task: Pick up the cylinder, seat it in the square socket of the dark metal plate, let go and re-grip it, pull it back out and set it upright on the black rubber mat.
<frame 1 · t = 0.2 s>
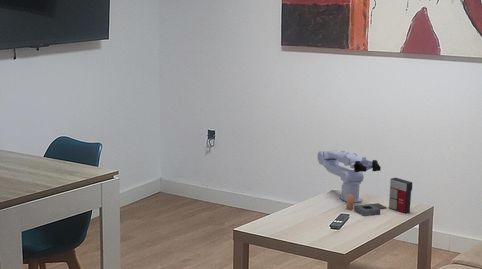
hand: (372, 169, 370), 21 cm above the table, tool horizontal, fingers open, 7 cm apart
red and grey box: (399, 210, 377), on the table
chuck plate: (367, 212, 372), on the table
mat: (376, 206, 381), on the table
cylinder: (349, 208, 378), on the table
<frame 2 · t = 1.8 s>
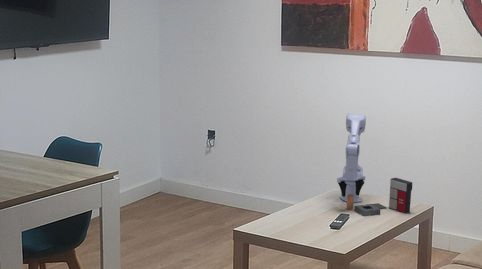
hand: (350, 195, 376), 7 cm above the table, tool pointing down, fingers open, 7 cm apart
nothing on the table moved.
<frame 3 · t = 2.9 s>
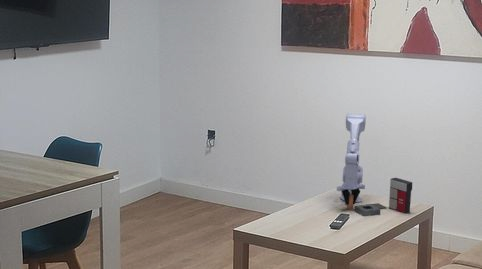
hand: (350, 204, 377), 2 cm above the table, tool pointing down, fingers closed on cylinder, 3 cm apart
cylinder: (349, 208, 378), on the table, touching gripper
everything else where it was.
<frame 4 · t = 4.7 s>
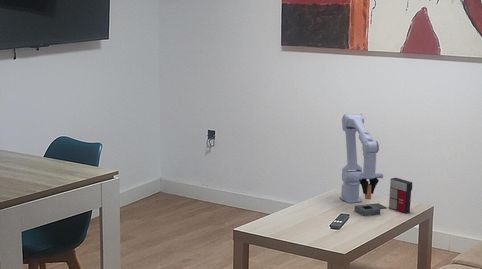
hand: (368, 193, 370), 9 cm above the table, tool pointing down, fingers closed on cylinder, 3 cm apart
cylinder: (367, 198, 371), point 7 cm above the table, touching gripper
everything else where it was.
when the fingers open (3 cm above the table, at t = 6.4 s): cylinder drops 1 cm, resting in chuck plate.
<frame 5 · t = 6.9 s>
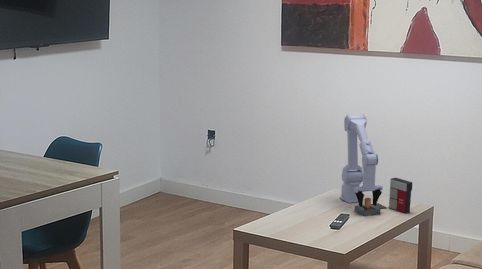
hand: (367, 205, 371), 3 cm above the table, tool pointing down, fingers open, 7 cm apart
cylinder: (367, 212, 372), resting in chuck plate
everything else where it was.
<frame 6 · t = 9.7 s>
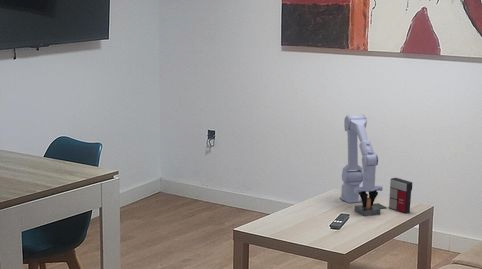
hand: (367, 206, 371), 3 cm above the table, tool pointing down, fingers closed on cylinder, 3 cm apart
cylinder: (367, 212, 372), resting in chuck plate, touching gripper
everything else where it was.
when the fingers open (5 cm above the table, at t = 13.1 s): cylinder stays where it is, resting on mat.
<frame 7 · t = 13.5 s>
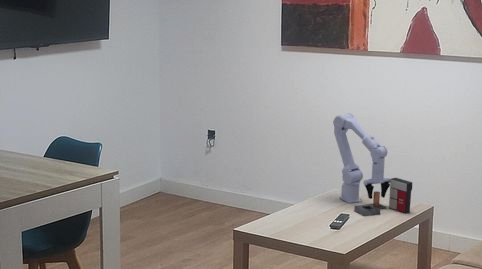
hand: (376, 197, 381), 5 cm above the table, tool pointing down, fingers open, 7 cm apart
cylinder: (376, 205, 381), point 1 cm above the table, touching mat
everything else where it was.
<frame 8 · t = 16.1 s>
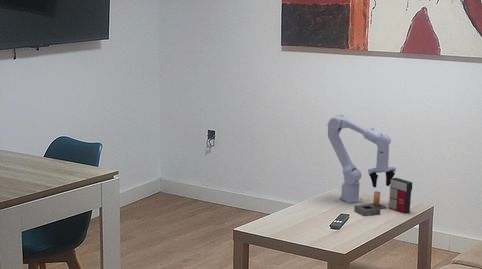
hand: (381, 186, 384), 9 cm above the table, tool pointing down, fingers open, 7 cm apart
nothing on the table moved.
at the end: cylinder 0.1 cm off-centre on the mat, point 0.5 cm above the mat's base; cylinder tilted 1°; the gripper is holding nothing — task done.
